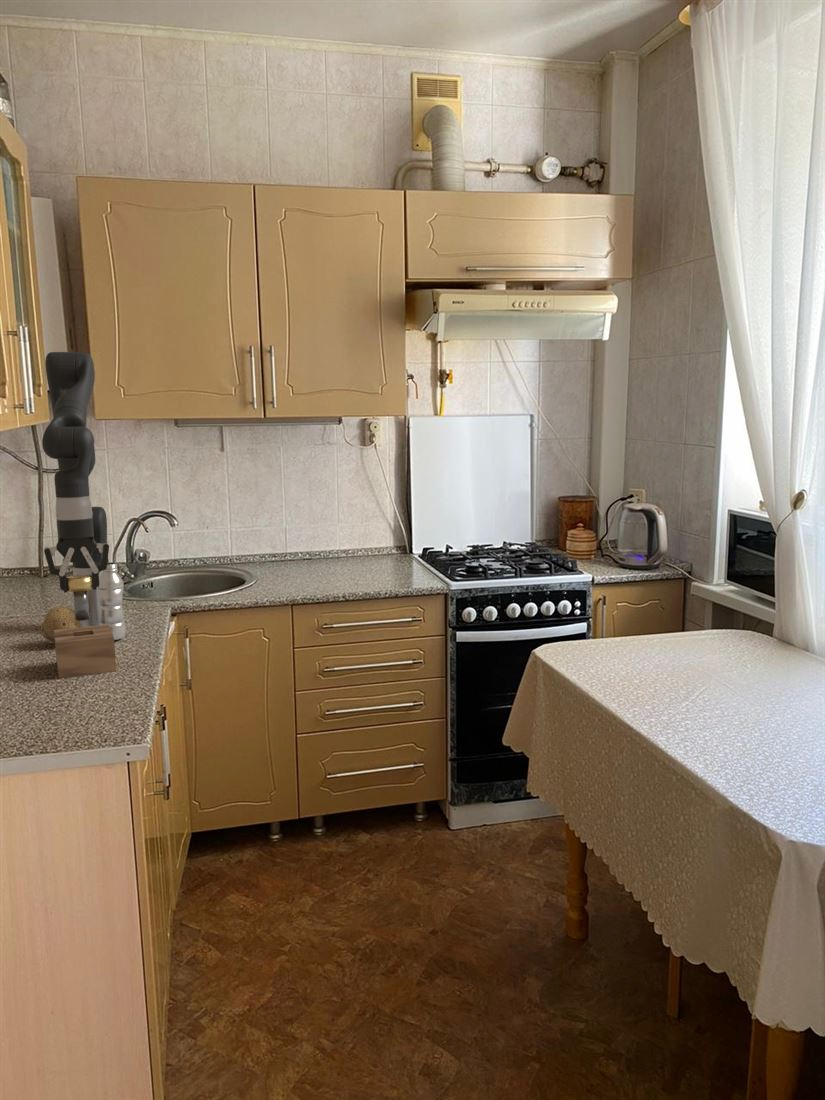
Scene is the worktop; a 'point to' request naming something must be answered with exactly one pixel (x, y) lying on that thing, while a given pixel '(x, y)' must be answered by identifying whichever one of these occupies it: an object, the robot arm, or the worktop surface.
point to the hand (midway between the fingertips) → (80, 590)
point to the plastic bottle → (112, 600)
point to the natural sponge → (58, 621)
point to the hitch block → (84, 651)
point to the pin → (80, 594)
